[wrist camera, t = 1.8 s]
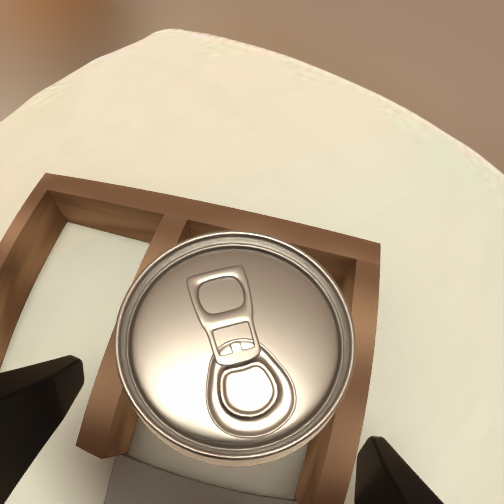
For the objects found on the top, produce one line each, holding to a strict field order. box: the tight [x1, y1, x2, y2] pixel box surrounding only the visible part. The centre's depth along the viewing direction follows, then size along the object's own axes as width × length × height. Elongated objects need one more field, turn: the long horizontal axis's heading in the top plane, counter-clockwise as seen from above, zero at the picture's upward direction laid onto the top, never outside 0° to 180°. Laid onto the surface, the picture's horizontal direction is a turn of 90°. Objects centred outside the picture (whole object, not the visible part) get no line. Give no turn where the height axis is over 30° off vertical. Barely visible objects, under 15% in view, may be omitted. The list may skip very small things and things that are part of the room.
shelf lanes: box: [0, 173, 380, 504], centre depth 17 cm, size 16×24×4 cm, turn 76°
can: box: [114, 230, 356, 467], centre depth 12 cm, size 6×6×12 cm
